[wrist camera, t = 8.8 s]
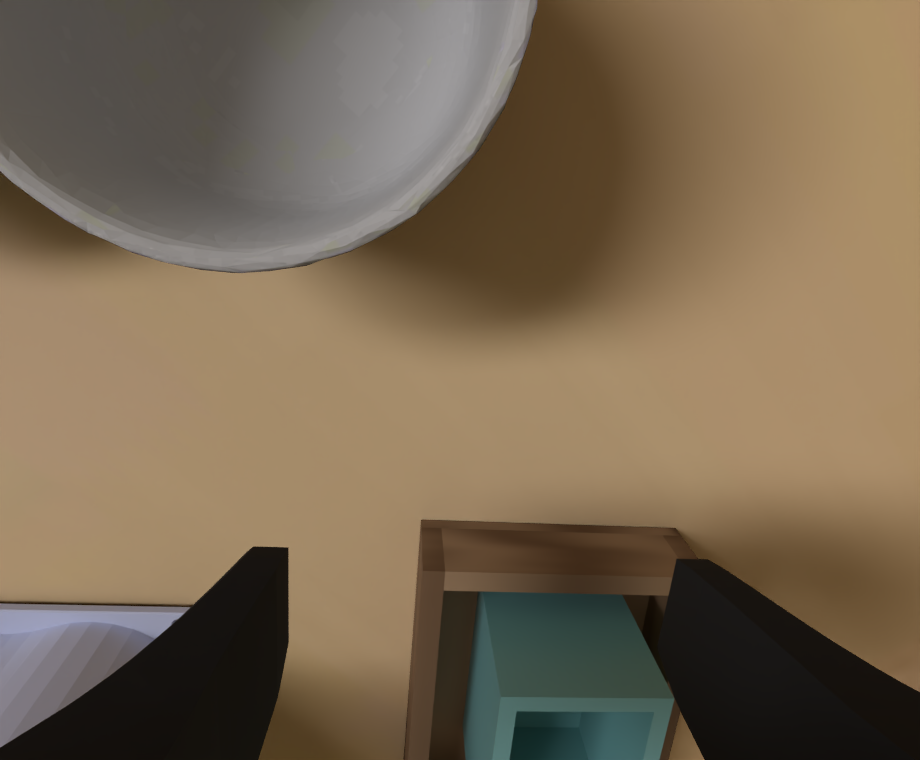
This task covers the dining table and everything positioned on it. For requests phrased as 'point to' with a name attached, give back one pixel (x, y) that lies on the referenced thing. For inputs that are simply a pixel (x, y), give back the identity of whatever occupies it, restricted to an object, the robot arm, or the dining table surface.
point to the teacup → (249, 117)
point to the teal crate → (562, 681)
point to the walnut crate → (519, 570)
